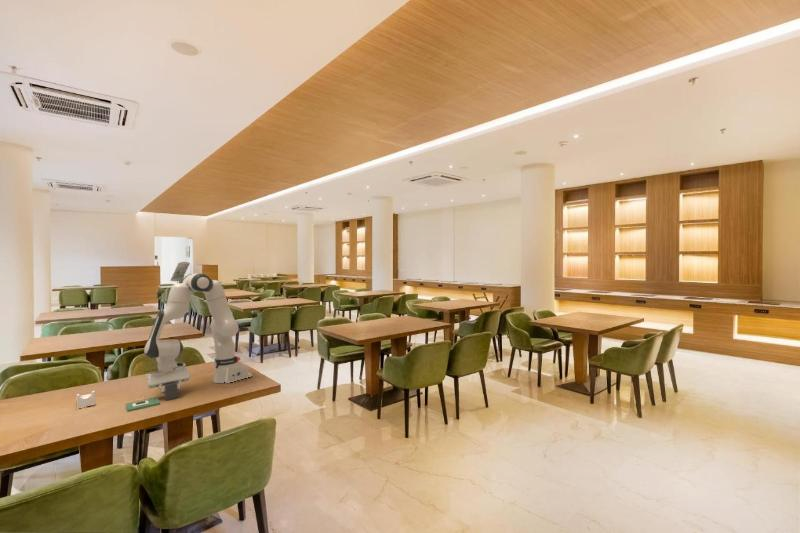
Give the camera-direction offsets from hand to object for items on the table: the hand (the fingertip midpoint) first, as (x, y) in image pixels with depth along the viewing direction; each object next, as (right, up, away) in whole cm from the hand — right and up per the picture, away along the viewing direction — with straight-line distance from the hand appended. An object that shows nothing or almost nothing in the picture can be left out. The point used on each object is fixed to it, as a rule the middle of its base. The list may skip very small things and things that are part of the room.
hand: (171, 390), depth 208 cm
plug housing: (0, -4, +1) cm, 4 cm away
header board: (-10, -5, -8) cm, 14 cm away
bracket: (-43, -6, -5) cm, 43 cm away
